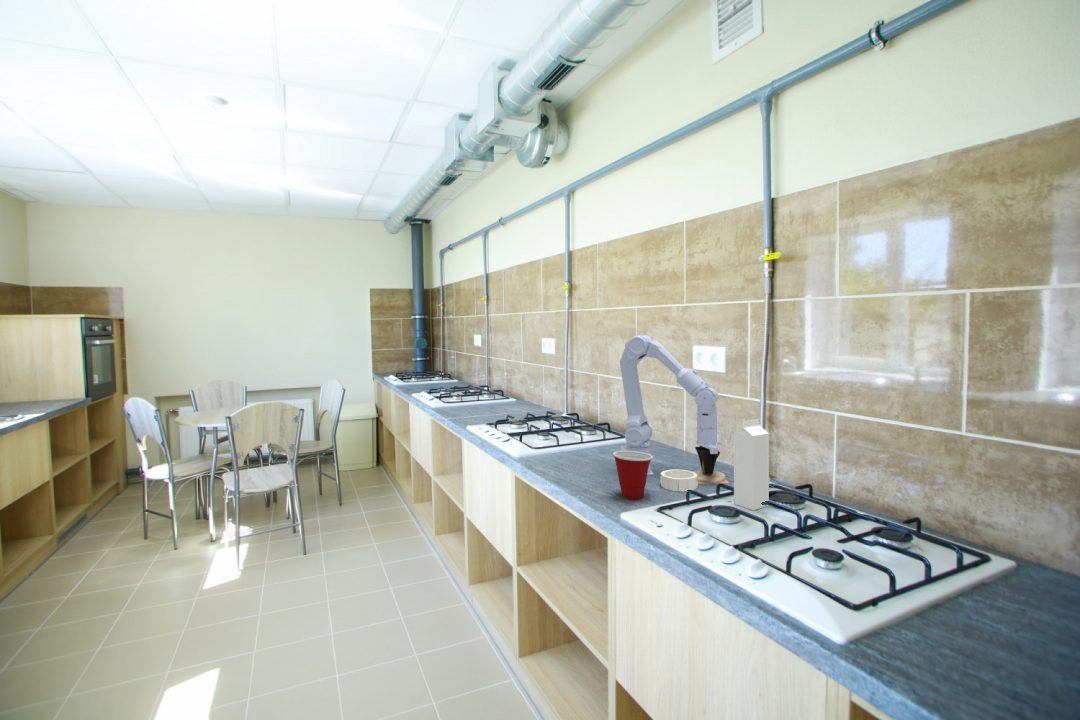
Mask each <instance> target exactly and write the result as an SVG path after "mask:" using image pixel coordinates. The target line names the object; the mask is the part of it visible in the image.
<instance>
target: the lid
mask: <svg viewBox="0 0 1080 720" xmlns="http://www.w3.org/2000/svg"><path fill="white" fill-rule="evenodd" d="M692 472H695V473H696V474H697V475H698V482H702V483H711V484H721V483H720V482H723V481H725V479H726V474H725V473H723V472H721V471H717V470H714V471H713V474H705V471H704V465H703V461H702V468H701V469H696V470H695V469H694V470H692Z"/></svg>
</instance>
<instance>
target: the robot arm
mask: <svg viewBox="0 0 1080 720" xmlns="http://www.w3.org/2000/svg"><path fill="white" fill-rule="evenodd" d="M624 344H625V345H624V349H623V352H622V355H621V358H620V360H619V365H620V371H621V372H620V373H621V379H622V386H623V393H624V400H625V407H626V412H627V419H626V422H625V423H626V424H625V427H626V430H625V433H624V439H625V441H626V443H627V444H624V445H621V446H620V451H637V452H643V453H647V454H650V455H652V454H651V442H650V439H651V437H652V435H653V430H652V429H653V428H652V426H650V424H649V421H648V417H647V416H646V415H645V411H644V405H643V397H642V390H641V385H640V377H639V371H638V365H639V364H640V363H641V361H643V359H644V358H645V357H648V358H652V359H657V360H658V361H659V362H660V363H661V364H663V366H665V368H667V369H668V370H670V372H671V373H673V374H674V375H675V376H676V377H675V378H676V383H677V384H679V386H680V387H682V389H684V391H686V392H687V393H688V394H689V395H690V396H691V397H694V402H695V403H696V405H697V407H696V408H697V411H696V438H697V439H696V441H695V442H696V445H697V446H695V447H694V449H695V451H696V453H697V456H698V459H699V463H700V468H701V469H702V461H703V465H704V471H705V474H713V471H715V467H716V462H717V459H718V457H719V456H720V455H721V452H720V450H718V449H719V448H718V445H722V441H720V440H718V412H717V401H718V398H719V393H718V391H717V390H716V388H715V387H714V386H711V385H710V383H709V382H708V381H705V380H703V379H702V378H701V377H700V376H699V375H698V371H697V370H696V369H692V368H689V367H688V368H684V366H683V365H682V364H681V363H680V362H679V361H677V359H676V358H675V357H674V356H673V355H672V354H671V353H670V352H669V351H668V350H667V349H666V348H665V346H663V345H662V344H661V343H660V342H658V341H657V340H656V339H654V337H653V336H652V335H650V334H642V335H641V334H640V335H639V334H635V335H633V336H631V337H630V338H629V339H628V340H627V341H626V343H624ZM651 461H652V460H651ZM651 461H650V464H649V467H648V473H647V476H650V475H654V472H653V470H652V469H651V468H652V467H651V465H652V462H651Z"/></svg>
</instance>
